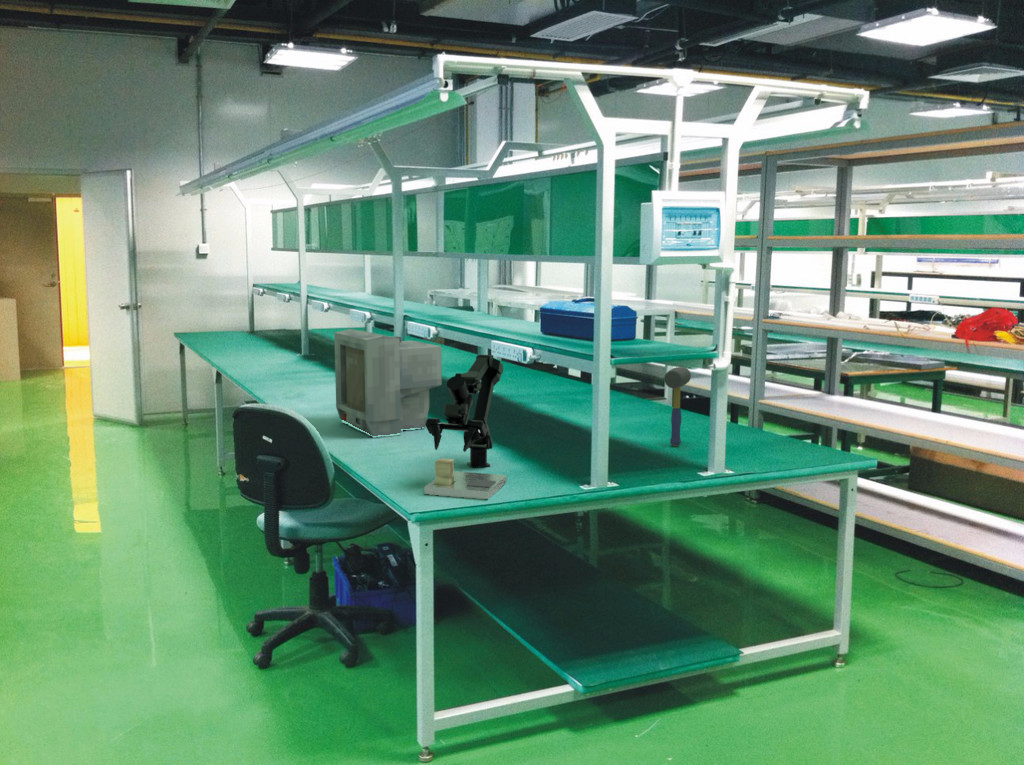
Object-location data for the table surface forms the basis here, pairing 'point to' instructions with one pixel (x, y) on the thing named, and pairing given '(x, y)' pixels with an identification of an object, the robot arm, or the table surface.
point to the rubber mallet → (676, 399)
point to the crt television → (384, 381)
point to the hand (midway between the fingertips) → (449, 450)
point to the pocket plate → (468, 485)
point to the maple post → (444, 472)
